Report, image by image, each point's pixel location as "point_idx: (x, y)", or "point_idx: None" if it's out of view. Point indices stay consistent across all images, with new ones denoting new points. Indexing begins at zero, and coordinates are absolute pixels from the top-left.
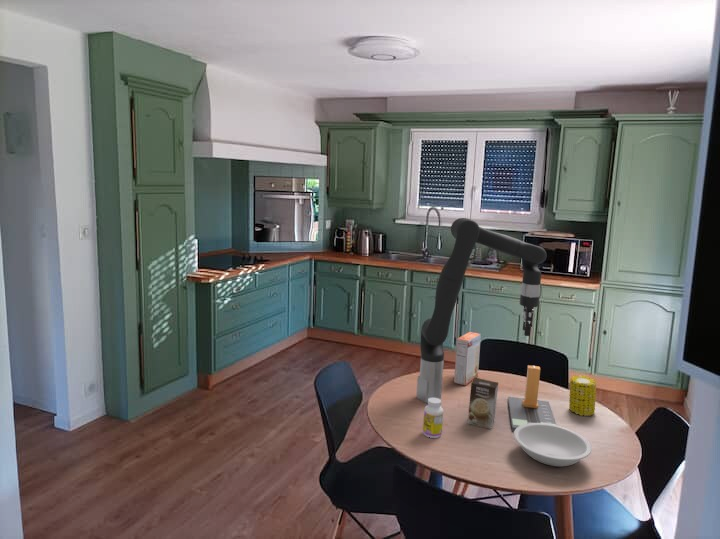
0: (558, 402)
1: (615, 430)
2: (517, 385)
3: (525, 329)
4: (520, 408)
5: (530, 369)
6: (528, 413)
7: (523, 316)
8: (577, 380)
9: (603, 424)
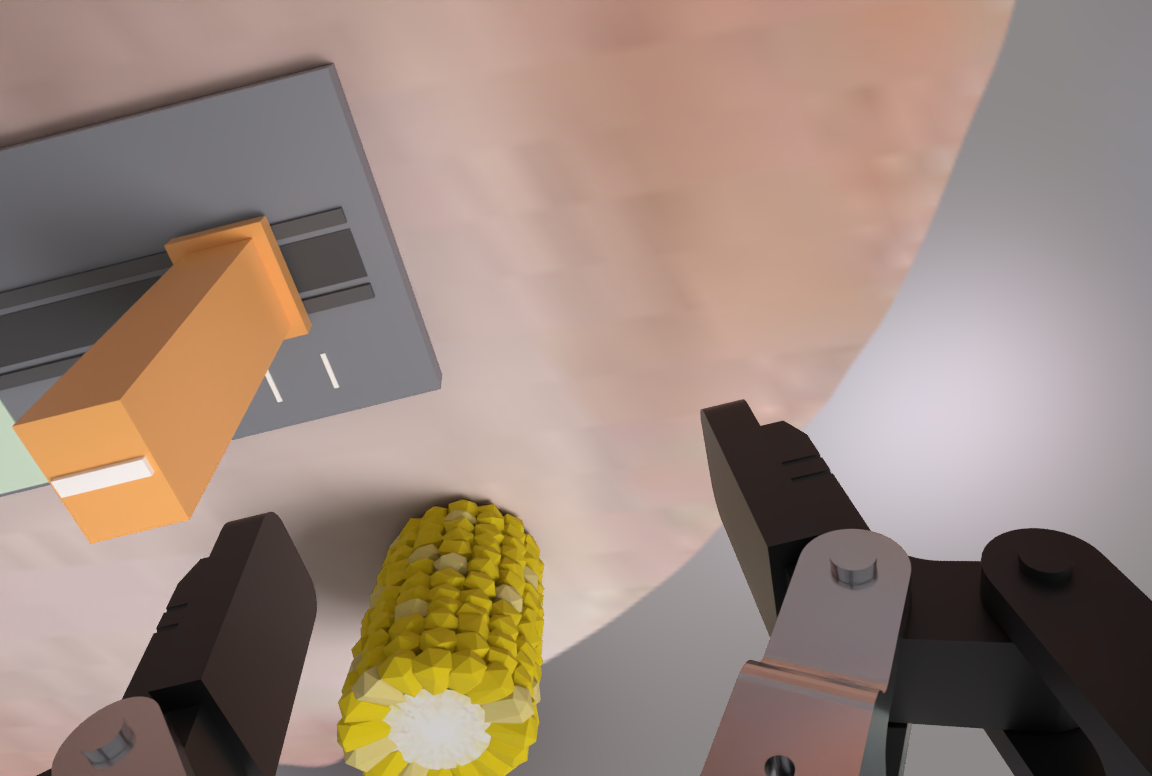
0: (540, 425)
1: (311, 706)
2: (746, 84)
3: (183, 641)
4: (134, 219)
5: (33, 439)
6: (86, 292)
7: (729, 731)
8: (428, 697)
9: (351, 659)
